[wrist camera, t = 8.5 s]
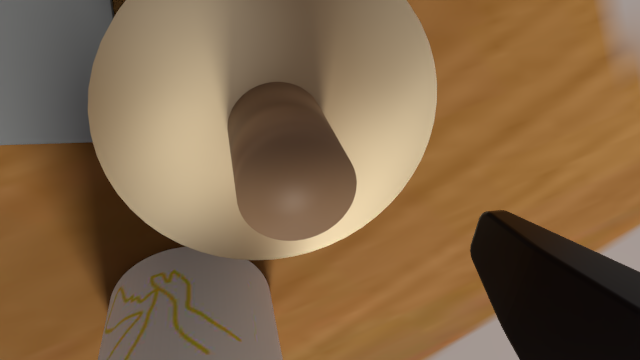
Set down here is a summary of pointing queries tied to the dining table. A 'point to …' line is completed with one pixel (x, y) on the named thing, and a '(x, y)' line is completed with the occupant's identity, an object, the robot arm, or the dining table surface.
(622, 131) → the dining table surface
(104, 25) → the mat
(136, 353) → the white cylinder
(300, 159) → the lid
